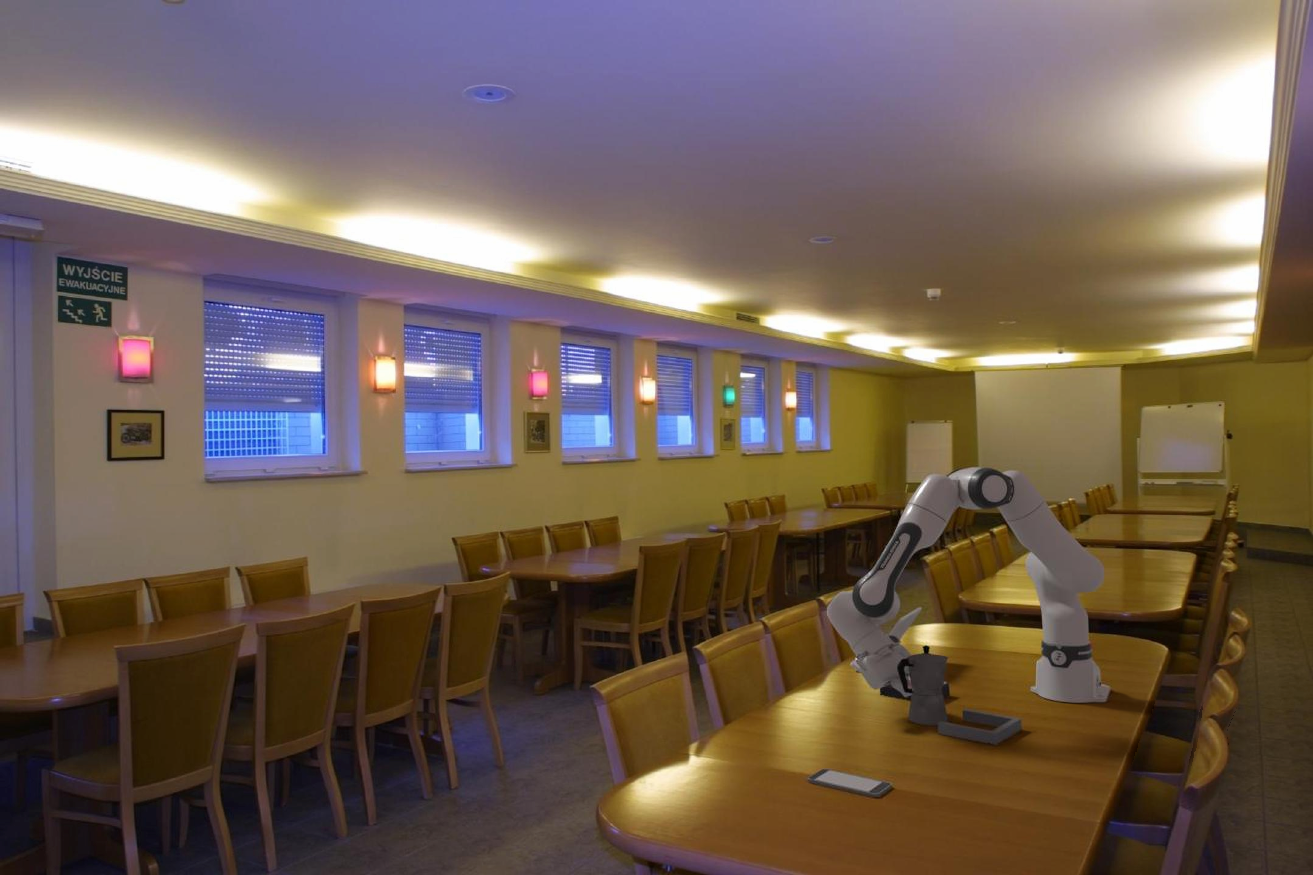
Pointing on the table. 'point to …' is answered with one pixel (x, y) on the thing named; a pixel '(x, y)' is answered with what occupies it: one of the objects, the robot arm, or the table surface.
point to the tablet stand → (898, 628)
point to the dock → (1004, 730)
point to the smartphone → (850, 782)
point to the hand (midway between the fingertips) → (910, 694)
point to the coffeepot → (925, 687)
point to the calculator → (895, 693)
